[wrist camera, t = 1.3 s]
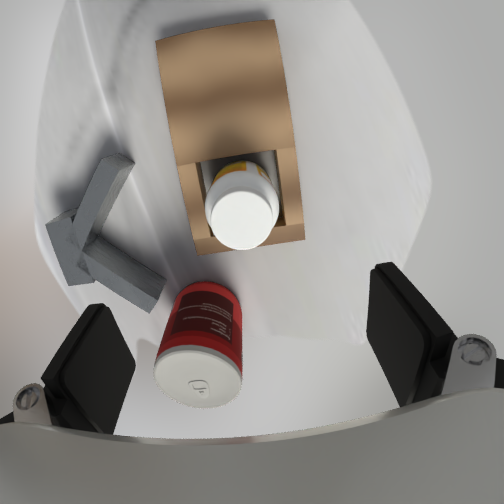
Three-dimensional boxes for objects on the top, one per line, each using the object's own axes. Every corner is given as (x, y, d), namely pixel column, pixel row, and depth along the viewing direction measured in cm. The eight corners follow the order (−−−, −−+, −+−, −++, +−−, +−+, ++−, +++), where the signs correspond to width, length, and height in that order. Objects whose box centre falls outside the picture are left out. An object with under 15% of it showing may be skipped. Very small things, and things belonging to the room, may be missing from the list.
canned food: (198, 343, 35) (187, 416, 25) (161, 295, 32) (133, 365, 22) (254, 321, 34) (258, 396, 24) (219, 267, 31) (209, 338, 21)
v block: (132, 149, 25) (115, 154, 22) (170, 291, 32) (162, 312, 28) (54, 175, 26) (33, 183, 22) (97, 299, 32) (84, 318, 29)
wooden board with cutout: (162, 47, 21) (155, 41, 19) (271, 27, 21) (274, 19, 19) (200, 244, 30) (197, 255, 27) (300, 229, 29) (305, 239, 27)
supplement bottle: (206, 206, 28) (189, 248, 19) (222, 152, 26) (211, 168, 17) (260, 222, 29) (268, 269, 20) (278, 169, 27) (296, 195, 18)
